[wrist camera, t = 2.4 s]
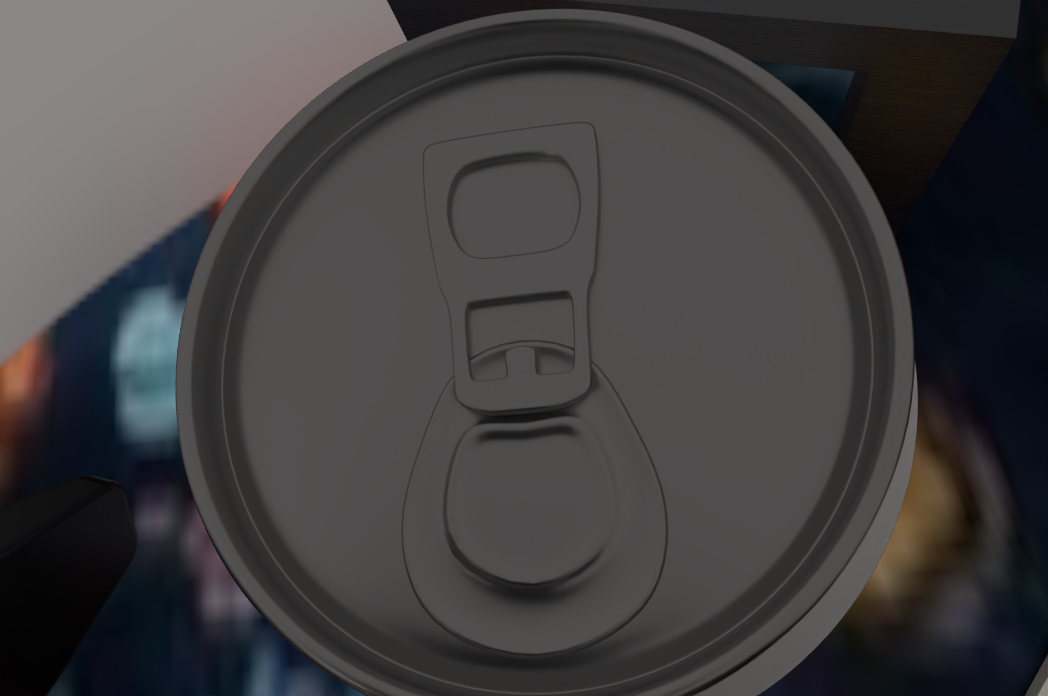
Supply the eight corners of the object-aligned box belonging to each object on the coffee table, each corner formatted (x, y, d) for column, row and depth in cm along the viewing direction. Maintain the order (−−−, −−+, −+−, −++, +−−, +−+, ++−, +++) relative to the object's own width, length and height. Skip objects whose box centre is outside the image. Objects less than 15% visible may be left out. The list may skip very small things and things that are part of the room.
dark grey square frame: (876, 268, 18) (1016, 37, 10) (494, 212, 20) (378, -17, 12) (886, 204, 18) (1027, -64, 11) (509, 154, 20) (405, -102, 13)
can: (478, 666, 17) (89, 817, 6) (466, 360, 19) (149, 28, 8) (808, 651, 16) (1091, 797, 5) (762, 329, 18) (893, -103, 7)
